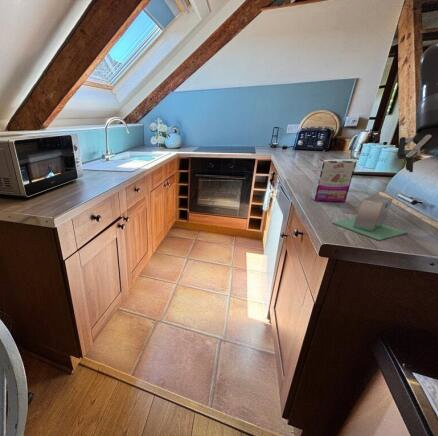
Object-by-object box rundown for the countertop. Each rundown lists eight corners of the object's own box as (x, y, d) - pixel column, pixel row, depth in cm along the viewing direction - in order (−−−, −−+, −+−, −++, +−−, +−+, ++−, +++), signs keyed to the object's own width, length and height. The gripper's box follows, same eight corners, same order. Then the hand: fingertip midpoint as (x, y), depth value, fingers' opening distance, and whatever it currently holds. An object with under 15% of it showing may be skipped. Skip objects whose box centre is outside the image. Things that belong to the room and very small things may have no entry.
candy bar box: (339, 198, 102) (351, 159, 95) (345, 202, 97) (358, 161, 91) (309, 197, 104) (319, 158, 98) (313, 201, 100) (324, 160, 93)
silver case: (352, 227, 75) (361, 199, 72) (363, 221, 79) (372, 194, 76) (372, 232, 71) (383, 203, 68) (382, 226, 75) (393, 198, 72)
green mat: (359, 217, 83) (359, 216, 83) (407, 233, 72) (408, 232, 71) (332, 223, 79) (332, 222, 79) (378, 241, 68) (379, 239, 67)
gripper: (477, 113, 65) (475, 170, 63) (400, 126, 76) (397, 176, 74) (481, 98, 60) (479, 160, 58) (398, 115, 71) (395, 168, 69)
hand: (433, 169), depth 66 cm, fingers open, 8 cm apart
